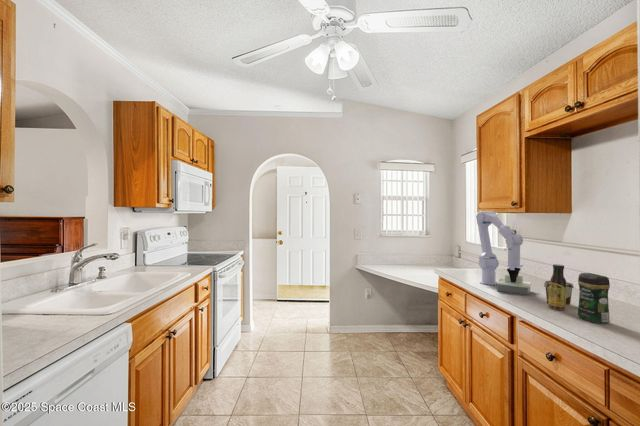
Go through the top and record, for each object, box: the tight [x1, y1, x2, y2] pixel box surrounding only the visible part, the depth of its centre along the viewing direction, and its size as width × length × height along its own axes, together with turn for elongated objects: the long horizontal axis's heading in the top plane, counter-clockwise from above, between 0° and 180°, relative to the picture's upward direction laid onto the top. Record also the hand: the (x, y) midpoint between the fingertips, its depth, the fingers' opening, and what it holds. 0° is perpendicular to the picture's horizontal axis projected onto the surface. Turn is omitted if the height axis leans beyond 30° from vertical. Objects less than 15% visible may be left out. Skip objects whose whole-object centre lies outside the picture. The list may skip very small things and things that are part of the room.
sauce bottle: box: [547, 263, 567, 311], centre depth 145 cm, size 7×6×20 cm
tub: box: [496, 284, 531, 296], centre depth 177 cm, size 12×14×4 cm
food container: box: [543, 280, 575, 306], centre depth 155 cm, size 12×6×10 cm, turn 84°
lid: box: [495, 274, 532, 288], centre depth 177 cm, size 13×15×4 cm
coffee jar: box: [577, 272, 611, 325], centre depth 129 cm, size 10×8×19 cm
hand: (513, 281), depth 177 cm, fingers closed on lid, 4 cm apart
